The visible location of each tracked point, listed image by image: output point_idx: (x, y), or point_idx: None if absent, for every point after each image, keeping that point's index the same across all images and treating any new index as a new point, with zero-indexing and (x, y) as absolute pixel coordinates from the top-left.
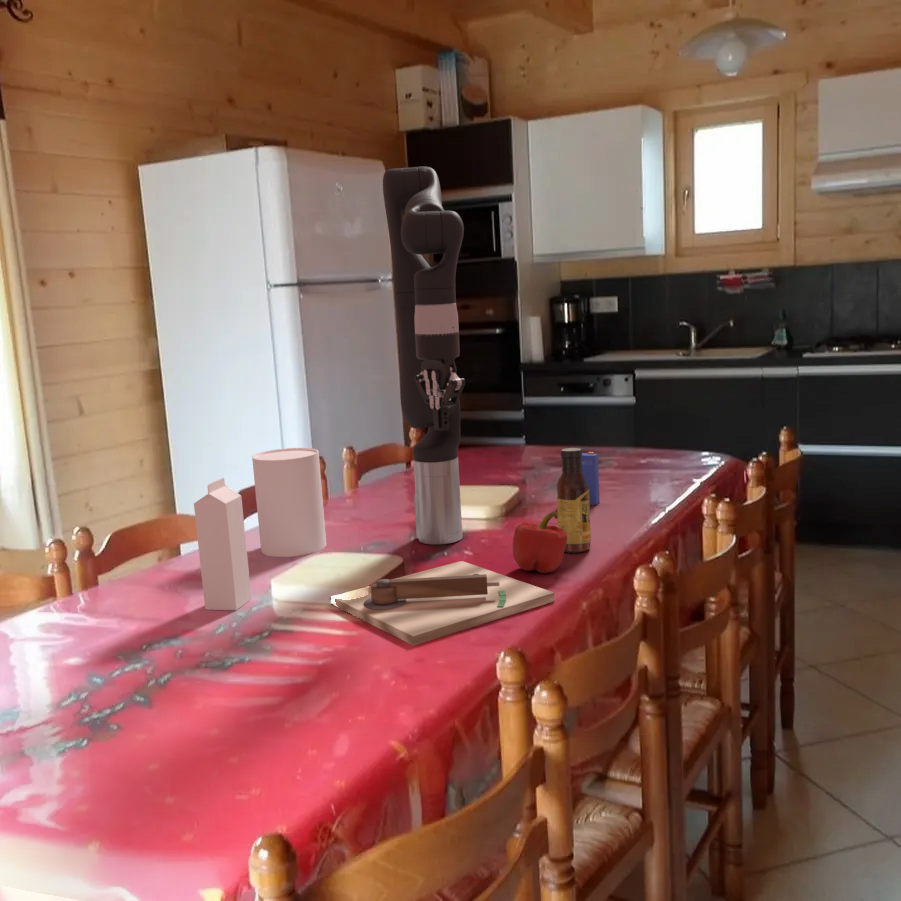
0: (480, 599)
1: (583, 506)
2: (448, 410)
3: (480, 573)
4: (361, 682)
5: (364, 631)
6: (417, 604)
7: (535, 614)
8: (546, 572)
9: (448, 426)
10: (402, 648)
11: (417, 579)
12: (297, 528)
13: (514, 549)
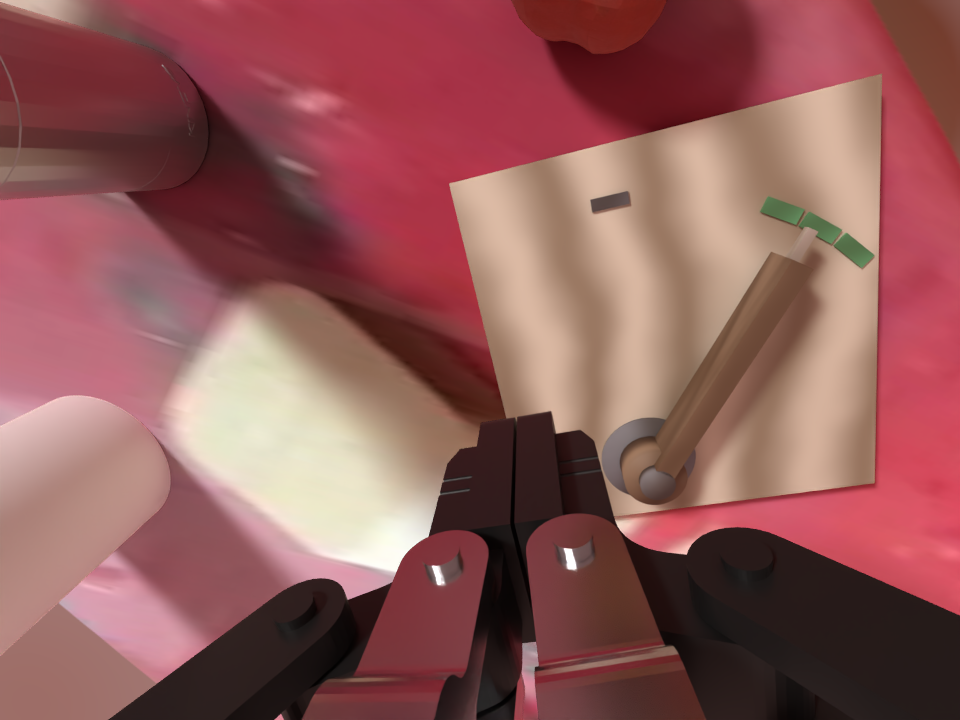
0: None
1: None
2: (613, 523)
3: (587, 186)
4: (942, 588)
5: (722, 513)
6: None
7: (908, 174)
8: None
9: (584, 433)
10: (857, 490)
11: (700, 421)
12: (122, 508)
13: (565, 37)
